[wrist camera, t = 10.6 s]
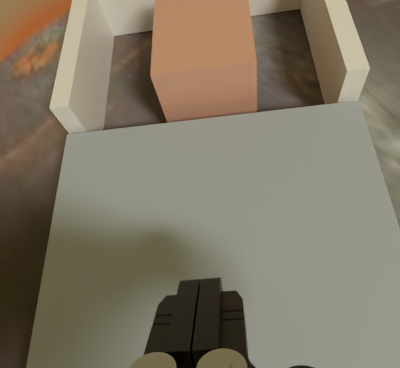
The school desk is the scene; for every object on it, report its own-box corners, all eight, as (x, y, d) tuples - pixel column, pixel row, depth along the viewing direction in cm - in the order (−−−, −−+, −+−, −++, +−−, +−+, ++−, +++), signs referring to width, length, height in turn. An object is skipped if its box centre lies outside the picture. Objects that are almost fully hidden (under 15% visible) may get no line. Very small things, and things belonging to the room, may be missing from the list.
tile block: (150, 75, 20) (155, -13, 24) (172, 137, 25) (173, 57, 29) (256, 62, 19) (244, -26, 23) (256, 128, 25) (247, 47, 28)
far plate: (49, 430, 18) (13, 440, 15) (86, 159, 25) (66, 134, 23) (430, 421, 16) (464, 431, 13) (347, 130, 23) (359, 100, 21)
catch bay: (84, 153, 26) (49, 108, 21) (102, 30, 32) (77, -25, 27) (348, 124, 24) (370, 68, 19) (312, -1, 30) (322, -66, 25)
